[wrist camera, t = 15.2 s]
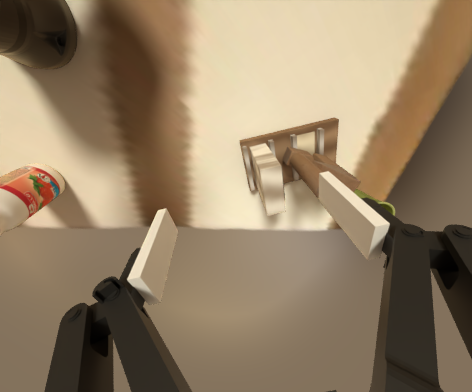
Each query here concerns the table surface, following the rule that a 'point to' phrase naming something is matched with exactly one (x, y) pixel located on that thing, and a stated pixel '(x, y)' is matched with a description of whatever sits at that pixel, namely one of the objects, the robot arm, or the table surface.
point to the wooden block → (317, 168)
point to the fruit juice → (27, 193)
